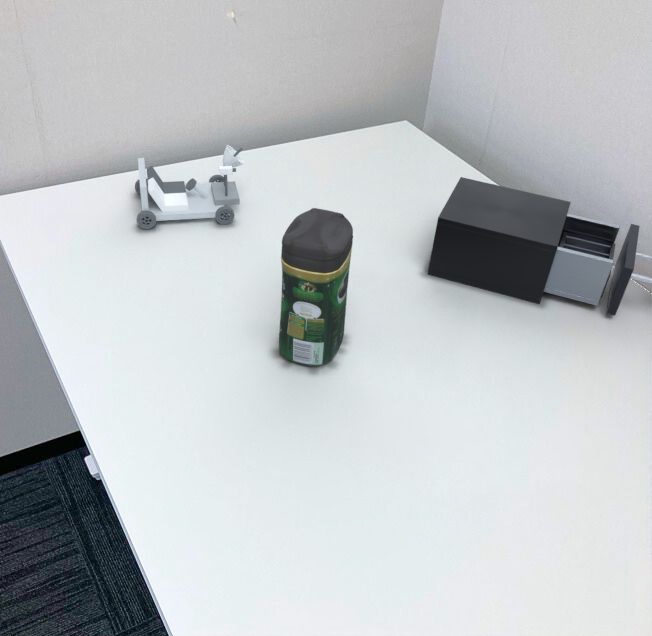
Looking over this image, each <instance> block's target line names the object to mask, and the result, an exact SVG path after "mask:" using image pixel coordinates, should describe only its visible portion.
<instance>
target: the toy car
mask: <svg viewBox="0 0 652 636" xmlns="http://www.w3.org/2000/svg"><path fill="white" fill-rule="evenodd" d="M243 150H244V149H243V148H242V147H240V148H239V149H238V150H236V149H235V148H234V147H232V146H231V145H229V144H226V146H225V149H224V152H223V156H222V165H219V166H218V169H219V170H218V173H219V174H214V175H212V176H210V178H209V179H208V181H207V182H206V181H205V182H198V181H197V180H196V179H195V178H194V177H192V178H190V179H189V180H188V181H187V183H186V182H185V180H177V181H163V180H162V178H161V177H160V176H159V174H158V172H157V171H156V169H155V168H154V167H153V165H151V166H148V167H147V168H146V163H145V162H146V161H145V157H137V164H138V167H137V168H138V179H136V181H135V183H134V190H135V192H136V194H137V195H139V196H140V202H141V203H140V204H141V210H142V211H140V212H139V213H138V214H137V215H136V223H137V226H138V227H139V228H140V229H143V230H150V229H153V228H154V227H155V226H156V224H157V222H161V221H179V220H194V219H213V218H214V219H215V220H216V222H217V223H218V224H221V225H223V226H224V225H229V224H231V223H232V222H233V221H234V219H235V211H234V209H233V208H232V207H230V206H233V205H235V206H237V205H240V204H241V200H240V195H239V190H238V188H237V184H236V181H228V176H229V175H233V173H236V172H237V168H236V167H241V166H243V165H244V164H245V160H244V159H243V157H242V156H241V154H240V153H241V152H242V151H243Z"/></svg>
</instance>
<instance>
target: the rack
mask: <svg viewBox="0 0 652 636" xmlns="http://www.w3.org/2000/svg"><path fill="white" fill-rule="evenodd" d="M566 238H568V239H572V240H576V241H580V242H584V243H589V244H593V245H597V246H601V247H605V248H609V251H608V254H606V253H602V252H598V251H593V250H589V249H585V248H581V247H577V246H573V245H568V244H564V243H565V239H566ZM564 246H565V247H569V248H573V249H577V250H581V251H586V252H590V253H594V254H598V255H602V256H606V258H607V259H611V260H614V257H615V250H616V243H615V242H614V243H611V246H609V245H605V244H601V243H596V242H592V241H588V240H584V239H580V238H575V237H571V236H567V232H564V231H563V234H562V237H561V240H560V244H559V247H562V248H563V247H564ZM611 273H612V270H611V271H610V274H609V277H608V279H607V282H606V284H605V287H604V290H603V292H602V295H601V298H600V299H602V298H603V296H604V294H605V290H606V287H607V285H608V283H609V280H610V278H611Z"/></svg>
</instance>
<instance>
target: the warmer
mask: <svg viewBox="0 0 652 636" xmlns="http://www.w3.org/2000/svg"><path fill="white" fill-rule="evenodd" d="M570 207H571V201H568V200H564V199H559V198H554V197H550V196H547V195H546V196H545V195H542V194H537V193H532V192H528V191H525V190H520V189H515V188H511V187H507V186H502V185H497V184H493V183H488V182H484V181H480V180H475V179H471V178H467V177H463V176H460V178H459V179H458V181H457V182H456V185H455V187H454V188H453V190H452V192H451V193H450V196H449V197H448V199H447V201H446V203H445V204H444V206H443V208H442V210H441V212H440V214H439V215H438V217H437V222H436V226H435V232H434V238H433V243H432V248H431V253H430V259H429V263H428V269H427V275H428V276H432V277H436V278H440V279H444V280H447V281H451V282H455V283H459V284H462V285H466V286H469V287H470V286H471V287H473V288H477V289H481V290H485V291H489V292H492V293H496V294H500V295H504V296H508V297H512V298H516V299H519V300H523V301H526V302H530V303H535V304H537V305H540V304H541V301H542V299H543V295H544V293H545V292H544V289H545V286H546V282H547V279H548V276H549V273H550V270H551V267H552V263H553V260H554V257H555V254H556V251H557V248H558V244H559V241H560V237H561V234H562V230H563V227H564V224H565V220H566V217H567V213H568V214H569V209H570Z"/></svg>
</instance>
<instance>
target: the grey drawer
mask: <svg viewBox="0 0 652 636" xmlns="http://www.w3.org/2000/svg"><path fill="white" fill-rule="evenodd" d="M620 228H621V225H619V224H615V223H610V222H606V221H602V220H597V219H595V218H590V217H585V216H580V215H576V214H572V213H569V212H568V213H567V217H566V220H565V224H564V227H563V230H562V234H563V231H564V232H567V236H571V237H575V238H580V239H584V240H588V241H592V242H596V243H601V244H605V245H609V246H611V243H614V244H615V242H616V239H617V236H618V233H619V231H620ZM639 233H640V225H638V224H634V223H630V225H629V228H628V231H627V233H626V236H625V238H624V242H623V244H622V247H621V249H620V251H619V255H618V256H617V260H616V261H615V260H614V259H613V260H611V259H607V258H606V256H602V255H598V254H594V253H590V252H586V251H581V250H577V249H573V248H569V247H565V246H564V247H563V248H562V247H559V244H560V241H559V244H558V248H557V251H556V254H555V257H554V260H553V263H552V267H551V270H550V273H549V276H548V279H547V282H546V286H545V289H544V292H543V293H547V294H551V295H555V296H559V297H562V298H567V299H570V300H574V301H578V302H581V303H585V304H589V305H593V306H595V307H597V306H598V305H599V303H600V300H601V299H602V298H601V295H602V292H603V290H604V287H605V284H606V282H607V279H608V277H609V274H610V271H611V272H612V269H613V272H612V278H611V283H610V290H609V296H608V302H607V308H606V315H611V316H616V314H617V312H618V309H619V307H620V305H621V302H622V300H623V298H624V295H625V292H626V290H627V288H628V285H629V282H630V279H632V280H636V281H638V282H643V283H647V284H651V285H652V277H650V276H647V275H641V274H637V273H634V270H635V265H636V264H635V263H636V259H640V260H643V261H647V262H652V255H649V254H645V253H640V252H637V247H638V241H639ZM562 234H561V237H562ZM561 237H560V240H561ZM564 244H568V245H573V246H577V247H581V248H585V249H589V250H593V251H598V252H602V253H606V254H608V251H609V248H605V247H601V246H597V245H593V244H589V243H584V242H580V241H576V240H572V239H568V238H566V239H565V243H564ZM614 263H615V265H614ZM610 275H611V274H610ZM609 278H610V277H609ZM604 291H605V290H604Z"/></svg>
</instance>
